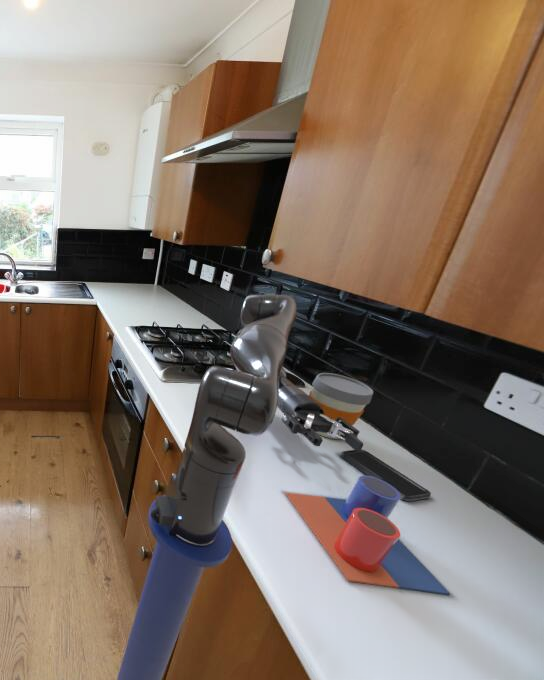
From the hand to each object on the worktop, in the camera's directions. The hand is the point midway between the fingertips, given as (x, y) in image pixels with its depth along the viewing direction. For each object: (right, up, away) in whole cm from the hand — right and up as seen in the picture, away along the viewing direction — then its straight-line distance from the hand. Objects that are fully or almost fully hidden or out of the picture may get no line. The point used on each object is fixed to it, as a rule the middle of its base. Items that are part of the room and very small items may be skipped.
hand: (339, 445), depth 78 cm
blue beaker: (-1, -13, -6) cm, 14 cm away
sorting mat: (-6, -15, -10) cm, 19 cm away
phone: (+16, -9, +7) cm, 20 cm away
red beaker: (-9, -16, -14) cm, 23 cm away
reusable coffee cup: (+16, -2, +23) cm, 28 cm away
